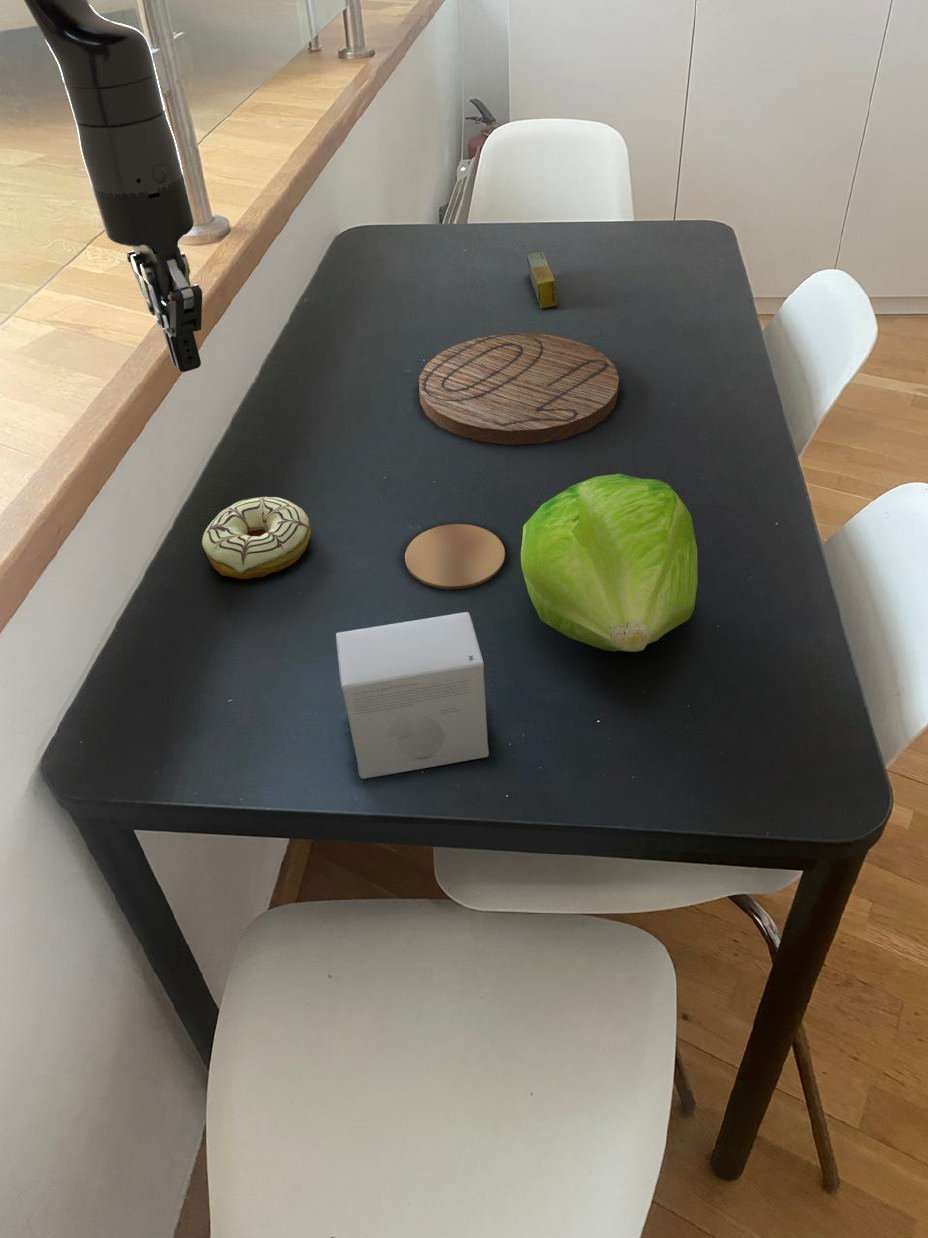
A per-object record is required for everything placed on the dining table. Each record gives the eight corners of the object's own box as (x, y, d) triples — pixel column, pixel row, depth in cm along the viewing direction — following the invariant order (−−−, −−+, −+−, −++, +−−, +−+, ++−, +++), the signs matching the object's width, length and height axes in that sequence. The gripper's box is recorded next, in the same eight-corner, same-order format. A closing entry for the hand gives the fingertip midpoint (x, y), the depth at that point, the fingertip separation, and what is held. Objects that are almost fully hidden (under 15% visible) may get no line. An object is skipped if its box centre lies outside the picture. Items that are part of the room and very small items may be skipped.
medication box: (528, 278, 142) (525, 252, 140) (545, 274, 142) (543, 248, 140) (539, 309, 133) (537, 282, 131) (558, 305, 133) (556, 278, 131)
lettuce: (551, 720, 76) (508, 584, 69) (545, 591, 93) (510, 471, 86) (731, 685, 73) (706, 540, 66) (692, 559, 90) (668, 431, 83)
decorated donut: (187, 554, 94) (178, 524, 92) (273, 508, 100) (266, 479, 97) (245, 599, 89) (237, 568, 86) (332, 548, 94) (327, 518, 91)
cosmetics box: (474, 699, 78) (469, 607, 71) (489, 758, 73) (486, 665, 66) (351, 720, 77) (334, 628, 70) (359, 781, 72) (341, 689, 65)
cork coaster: (424, 600, 88) (424, 597, 87) (392, 541, 94) (392, 538, 94) (520, 573, 90) (520, 569, 90) (482, 517, 97) (482, 514, 97)
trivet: (653, 375, 118) (655, 362, 116) (549, 467, 103) (549, 452, 102) (493, 330, 129) (493, 318, 128) (379, 407, 115) (377, 394, 113)
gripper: (68, 165, 79) (126, 352, 91) (118, 205, 71) (175, 406, 83) (151, 147, 82) (198, 331, 94) (209, 184, 74) (252, 380, 86)
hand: (187, 365), depth 88 cm, fingers closed
